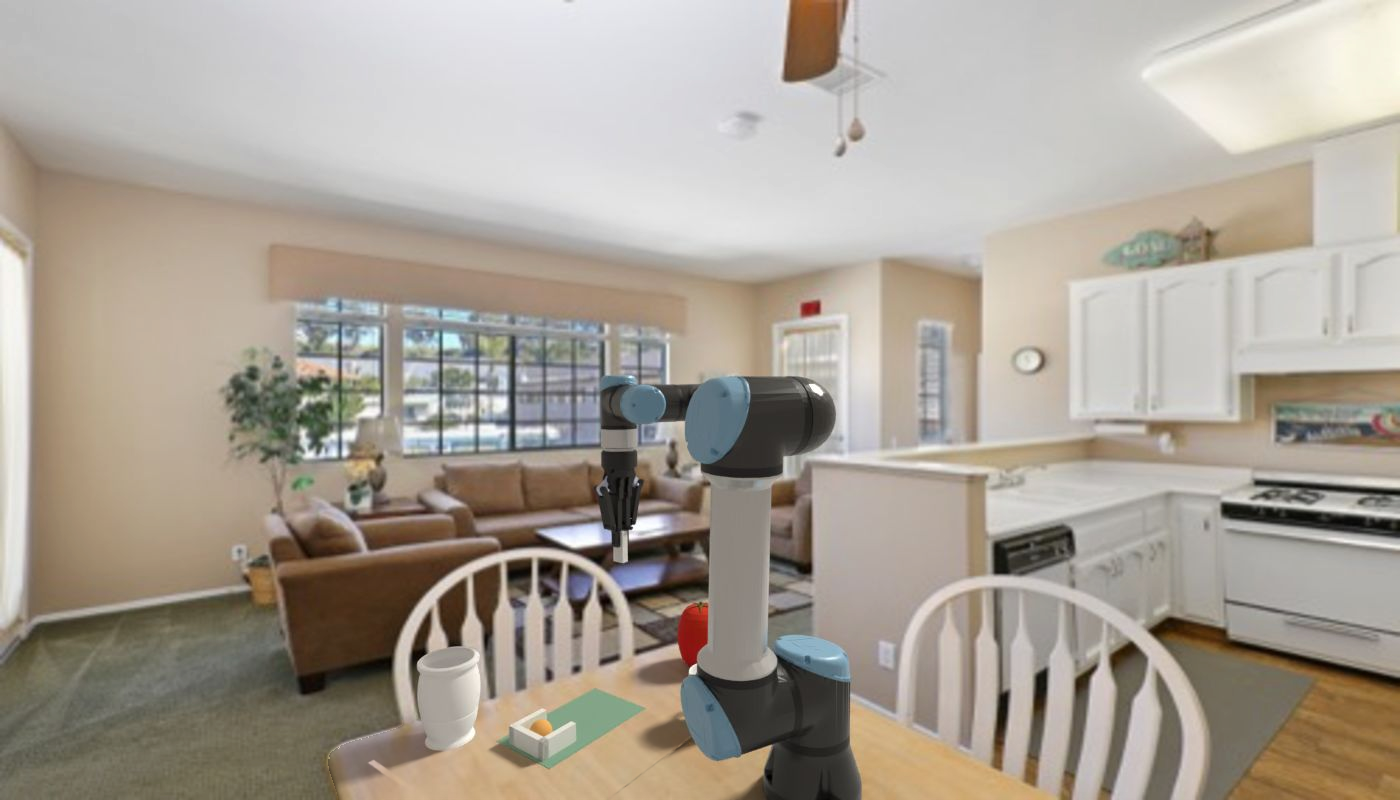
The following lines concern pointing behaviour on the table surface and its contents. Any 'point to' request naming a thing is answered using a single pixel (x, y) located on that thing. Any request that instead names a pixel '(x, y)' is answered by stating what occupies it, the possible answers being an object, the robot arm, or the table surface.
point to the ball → (541, 727)
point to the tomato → (693, 631)
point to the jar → (448, 696)
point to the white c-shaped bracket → (537, 743)
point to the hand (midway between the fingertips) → (620, 561)
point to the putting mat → (584, 721)
